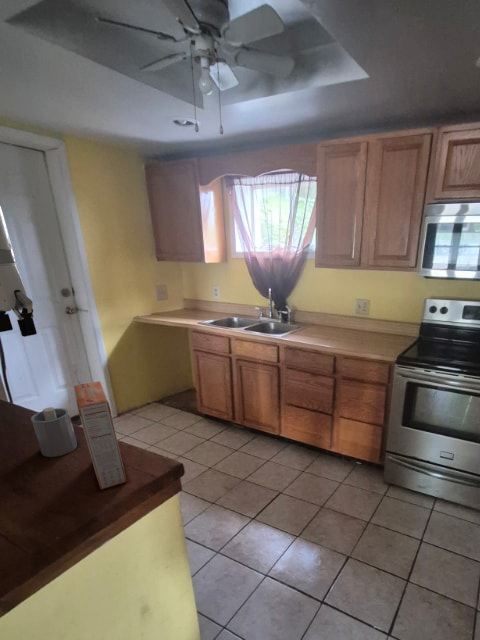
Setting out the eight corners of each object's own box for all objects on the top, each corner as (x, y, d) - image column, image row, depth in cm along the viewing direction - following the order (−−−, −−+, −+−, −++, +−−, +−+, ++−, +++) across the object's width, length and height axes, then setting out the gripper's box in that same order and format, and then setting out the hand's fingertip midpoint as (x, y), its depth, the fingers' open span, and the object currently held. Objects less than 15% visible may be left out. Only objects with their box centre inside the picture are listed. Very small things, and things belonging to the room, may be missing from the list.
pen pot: (34, 457, 95) (23, 422, 91) (53, 441, 102) (43, 408, 98) (66, 456, 95) (56, 422, 91) (83, 440, 103) (74, 408, 99)
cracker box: (92, 462, 93) (72, 384, 85) (118, 455, 96) (101, 379, 88) (98, 491, 82) (76, 406, 74) (127, 483, 85) (109, 400, 77)
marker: (51, 449, 97) (40, 411, 93) (57, 444, 100) (46, 407, 95) (61, 449, 97) (50, 411, 93) (66, 444, 100) (56, 407, 95)
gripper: (-46, 257, 84) (-20, 332, 91) (-2, 260, 77) (22, 340, 84) (-9, 256, 90) (13, 326, 97) (35, 258, 83) (55, 333, 90)
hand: (17, 333), depth 90 cm, fingers open, 9 cm apart
